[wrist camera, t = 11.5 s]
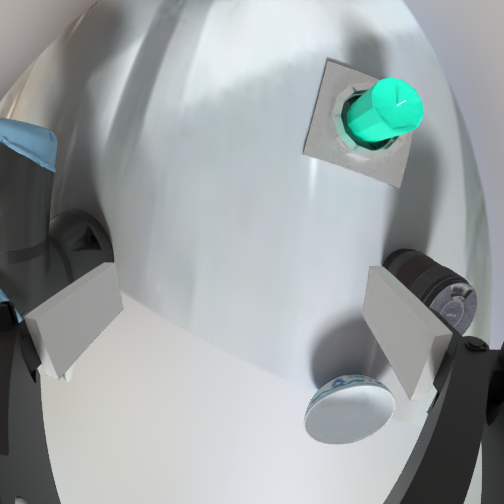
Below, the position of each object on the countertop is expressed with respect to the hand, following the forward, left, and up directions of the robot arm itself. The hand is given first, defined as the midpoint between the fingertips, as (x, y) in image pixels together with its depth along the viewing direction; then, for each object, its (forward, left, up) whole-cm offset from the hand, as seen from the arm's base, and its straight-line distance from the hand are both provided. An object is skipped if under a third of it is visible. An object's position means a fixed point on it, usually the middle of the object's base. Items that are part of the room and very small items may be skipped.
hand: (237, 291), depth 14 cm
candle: (+10, +17, -24) cm, 31 cm away
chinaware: (+22, -25, -25) cm, 41 cm away
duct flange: (+10, +16, -25) cm, 31 cm away
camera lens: (+22, -2, -25) cm, 33 cm away
